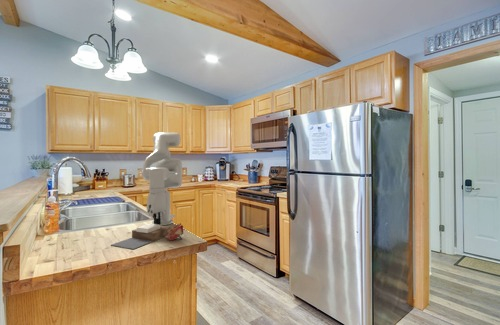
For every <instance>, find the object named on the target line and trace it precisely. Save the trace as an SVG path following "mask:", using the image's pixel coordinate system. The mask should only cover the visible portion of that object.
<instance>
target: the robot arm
mask: <svg viewBox="0 0 500 325" xmlns="http://www.w3.org/2000/svg"><path fill="white" fill-rule="evenodd" d="M181 139H182V138H181V135H180V132H179V133H178V132H156V133H154V134H153V137H152V140H153V150H152V153H150V154H149V155H148V156H147V157H146V158H145V160H144V162H143V163H142V164H143V165H142V171H141V176H142V179H143V180H144V181H148V182H149V191H148V192H149V194H148V196H147V199H146V213H148V216H149V217H152V218H153V221H152V222H151V224H159V225H160V226H168V225H171V224H173V223H174V220H173V218H175V217H176V215H175V214H171V194H170V192H169V190H167V189H176V188H177V189H178V188H180V187H182V184H183V163H182V160H181V159H180V158H178V157H177V158H176V157H173V158H171V154H172V153H171V151H170V150H169V148H174V147H175V148H177V147H179V146H180V144H181ZM153 164H156V166H152V165H153Z"/></svg>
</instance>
